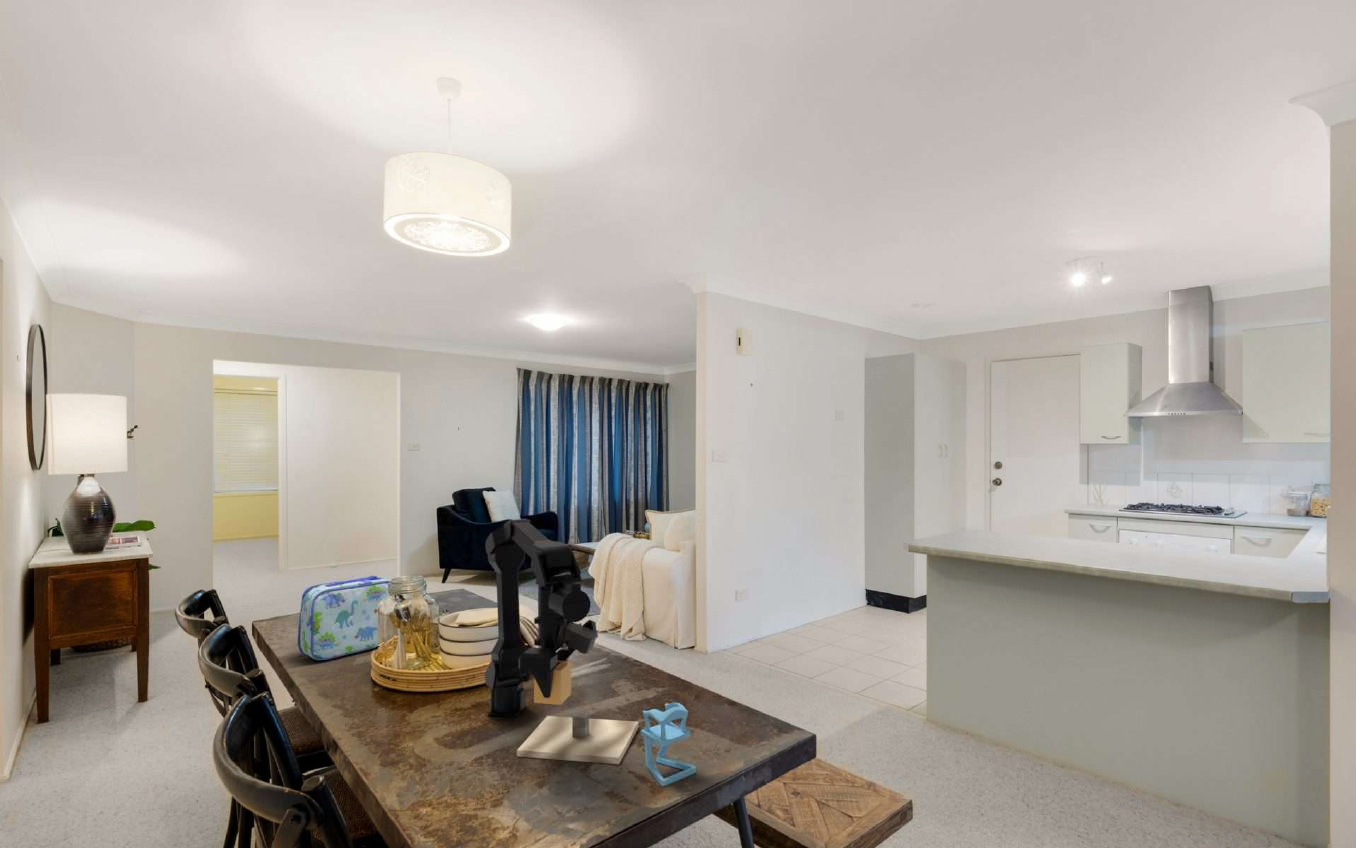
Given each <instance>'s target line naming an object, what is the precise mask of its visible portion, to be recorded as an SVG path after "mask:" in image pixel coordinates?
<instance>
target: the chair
mask: <svg viewBox="0 0 1356 848" xmlns="http://www.w3.org/2000/svg"><path fill="white" fill-rule="evenodd" d="M664 707H665V711H661V710H659V709H656V708H653V709H649V710H642V714H643V715H642V716H643V719H644V721H645V727H644V729H641V730H640V736H642V739H643V741H644V750H645V751H644V752H645V767H646V768H647V769H649V770H650V772H651V774H652V775H653V776H654V777H653V778H655V780H656V781H657V782H658V783H659V785H660V786H662V787H667V786H668V785H671V784H673V783H676V782H678V781H680V780H683V779H684V778H688V777H690V776H691V775H694V774H695V773H696V772H697V769H696V766H695V765H692V764H689V763H687V762H682V761H679V760H676V759H673V758H668V757H666V756H665V754H666V751H667V750H668V748H669V746H670V744H673V743H675V742H677V741H681V740H686V739H688V738H691V731H689V729H688V730H687V728H686V727H687V726H686V722H687V719H688V715H689V710H687V709H686V707H684V705H682V704H681V703H679V702H671V703H665V704H664ZM649 717H651V718H652V719H654V720H655V721H656V722H657V723H658V724H656V725H655V726H651V722H650V720H649ZM680 719H682V720H681V722H680V726H678V725H676V724H675V723H674V722H672V721H676V720H680ZM653 744H657V745H658V746H659V747H660V748H659V750H658V753H657V754H656V759H655V761H656V762H657V763H659V764H662V765H665V766H669V767H671V768H672V767H673V768H676V769H680V770H682V771H679V772H677V773H675V774H672V775H670V776H667V777H665V778H664V777H663V775H662V773H661V772H660V770H659V769H658V768H657V766H656V764H655V763H654V762H653V755H652V751H653V750H652V745H653Z"/></svg>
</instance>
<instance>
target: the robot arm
mask: <svg viewBox="0 0 1356 848" xmlns="http://www.w3.org/2000/svg"><path fill="white" fill-rule="evenodd" d="M484 545H485V551H486V554H487V559H488V563H489V564H490V565H491V567H492V569H494V572H495V574H496V577H495V578H496V579H495V580H496V603H497V628H498V629H497V630H498V631H497V633H498V635H497V637H498V638H497V640H496V643H495V645H494V647H493V648H492V650H491V658H490V659H491V661H490V662H489V664H488V666H487V668H486V671H485V672H484V680H485V681H484V683H485V685H487V687H489V688H490V710H489V711H488V712H487V715H488V716H493V717H494V716H495V717H511V718H514V717H517V715H519V713H520V712H522V710H524V709H525V707H526V706H527V703H526V689H525V687H524V683H528V682H529V681H530V676H531V674H532V676H533V679H534V678H535V680H536V682H537V684H538V686H539V688H540V690H541V692H542V694H543V696H544V698H549V697H550V695H551V689H552V681H553V674H554V670H555V669H556V668H557V667H558V666H559V665H560V664H561V662H557V660H558V661H569V658H570V657H571V655H573V653H575V652H576V651H577V652H578V653H581V654H583V655H586V654H588V653H589V651H591V650H592V649H593V647H594V645H595V643H596V640H597V638H599V634H598V633H599V630H597V622H596V621H594V620H591V619H588V620H587V621H585V623H583V624H582V623H581V621H582V620H584V619H586V617H587V616H588V615H589V612H590V611H591V607H592V606H591V600H590V597H589V595H588V593H586V592H585V591H584V590H582V587H581V586H582V584H581V583H580V582H582V576H581V574H582V571H581V569H580V566H579V564H578V561H577V559H576V557H575V553H574V551H573V550H572V549H571V547H570V545H568V544H566V543H564V542H562V541H554V540H551V539H548V538H547V536H545V535H544V534H543V533H542V532H540V531H539V529H537V528H536V527H535V526H534V525H533V524H532V521H531V520H530V519H527V518H519V519H509V520H508V521H505V523H504V524H503V525H502V526H501V527H498V528H497V529H494V530H493V531H492V532H491V533H489V535H488V537H487V538H486V540H485V544H484ZM525 554H526V555H528V557H530V559H531V560H530V561H531V562H530V568H532V571H533V573H534V575H535V577H536V580H535V584H536V585H537V590H538V591H537V616H536V617H534V618H533V619H534V620H533V621H534V623H533V624H534V625H537V637H536V638H535V639H534V641H533V645H534V646H537V647H529V645H527V644H526V643H525V641H524V640H523V639H522V637H521V617H520V613H521V612H520V594H519V593H520V592H519V591H520V589H519V570H520V567H521V566H522V564H523V562H524V561H525V558H526V556H525ZM578 622H579V623H578ZM538 646H540V647H538Z"/></svg>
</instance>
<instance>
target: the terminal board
mask: <svg viewBox="0 0 1356 848" xmlns="http://www.w3.org/2000/svg"><path fill="white" fill-rule="evenodd" d="M638 730H639V721H633V720H632V721H631V720H617V719H603V718H602V719H601V718H590V713H589V712H585V711H576V712H575V713H574V714H573V716H572V717H570V716H555V715H547V716H546V717H545V718H544V719H543V720H542V721H541V722H540V724H538V726H537V727H536V728H535V729H534V730H533V732H532V733H530V735H529V736H528V737H527V738H525V739H526V740H525V741H523V742H522V744H521V745H520V746H519V748H517V750H516V756H517V757H518V758H519V757H520V758H531V759H533V758H534V759H546V760H558V761H559V760H560V761H573V762H586V763H595V764H596V763H598V764H611V765H612V764H613V765H620V764H621V762H622V760H623V758H624V755H625V754H626V752H627V750H628V748H629V747H630V744H631V742H632V741H633V738H634V737H635V735H636V733H637V731H638Z"/></svg>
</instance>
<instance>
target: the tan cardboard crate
mask: <svg viewBox="0 0 1356 848" xmlns="http://www.w3.org/2000/svg"><path fill="white" fill-rule="evenodd" d="M557 662H561V664H560V665H559V666H558V667H557V668H556V669H555V670H554V674H553V681H552V689H551V695H550V697H549V698H544V696H543V694H542V692H541V690H540V688H539V686H538V684H537V682H536V680H535V678H534V677H533V702H534V704H546V705H557V706H562V705H563V704H564V702H566V700H567V699H568V698H569V697H570V696H571V695H572V661H571V660H568V661H558V660H557Z"/></svg>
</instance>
